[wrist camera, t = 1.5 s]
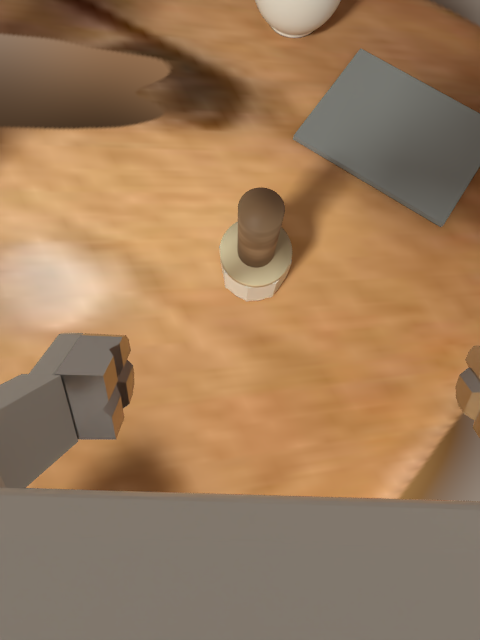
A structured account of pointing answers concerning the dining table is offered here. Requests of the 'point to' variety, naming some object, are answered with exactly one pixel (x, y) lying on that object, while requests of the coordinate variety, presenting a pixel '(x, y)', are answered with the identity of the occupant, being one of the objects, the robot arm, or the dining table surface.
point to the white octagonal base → (252, 288)
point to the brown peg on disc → (257, 240)
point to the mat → (396, 136)
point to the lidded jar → (296, 15)
